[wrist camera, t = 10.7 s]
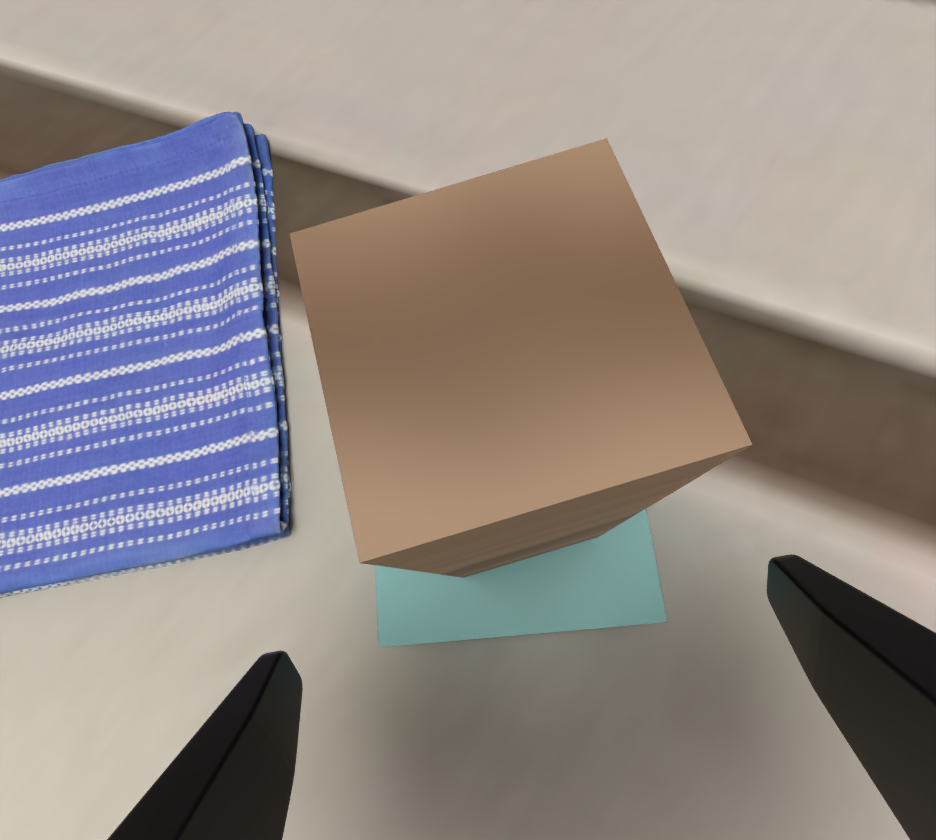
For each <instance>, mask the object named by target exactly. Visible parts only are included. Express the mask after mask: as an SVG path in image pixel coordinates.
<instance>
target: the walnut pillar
mask: <svg viewBox="0 0 936 840" xmlns="http://www.w3.org/2000/svg"><path fill="white" fill-rule="evenodd" d="M290 238H291V243H292V247H293V252H294V257H295V261H296V266H297V271H298V276H299V280H300V285H301V290H302V294H303V299H304V304H305V308H306V313H307V318H308V323H309V327H310V332H311V337H312V341H313V346H314V351H315V355H316V360H317V365H318V369H319V374H320V379H321V384H322V388H323V393H324V398H325V402H326V407H327V412H328V416H329V421H330V426H331V431H332V435H333V440H334V445H335V449H336V454H337V459H338V463H339V468H340V473H341V478H342V482H343V487H344V492H345V496H346V501H347V506H348V510H349V515H350V520H351V525H352V529H353V534H354V539H355V543H356V548H357V553H358V557H359V562H360V563H364V564H371V565H378V566H385V567H392V568H399V569H406V570H412V571H419V572H426V573H433V574H440V575H447V576H454V577H461V578H464V577H468V576H471V575H474V574H478V573H481V572H484V571H488V570H491V569H494V568H498V567H501V566H504V565H508V564H511V563H514V562H517V561H521V560H524V559H527V558H531V557H534V556H537V555H541V554H544V553H547V552H551V551H554V550H557V549H561V548H564V547H567V546H571V545H574V544H577V543H581V542H584V541H587V540H590V539H594V538H597V537H599V536H601V535H603V534H604V533H606V532H608V531H609V530H611V529H613V528H614V527H616V526H618V525H619V524H621V523H623V522H624V521H626V520H628V519H629V518H631V517H633V516H634V515H636V514H638V513H639V512H641V511H643V510H644V509H646V508H648V507H649V506H651V505H653V504H654V503H656V502H658V501H659V500H661V499H663V498H664V497H666V496H668V495H669V494H671V493H673V492H674V491H676V490H678V489H679V488H681V487H683V486H684V485H686V484H688V483H689V482H691V481H693V480H694V479H696V478H698V477H699V476H701V475H703V474H704V473H706V472H708V471H709V470H711V469H712V468H714V467H716V466H717V465H719V464H721V463H722V462H724V461H726V460H727V459H729V458H731V457H732V456H734V455H736V454H737V453H739V452H741V451H742V450H744V449H746V448H747V447H749V446H751V445H752V443H751V441H750V439H749V436H748V434H747V432H746V430H745V428H744V426H743V424H742V422H741V420H740V418H739V415H738V413H737V411H736V409H735V407H734V405H733V403H732V401H731V399H730V396H729V394H728V392H727V390H726V388H725V386H724V384H723V382H722V380H721V378H720V375H719V373H718V371H717V369H716V367H715V365H714V363H713V361H712V359H711V357H710V354H709V352H708V350H707V348H706V346H705V344H704V342H703V340H702V338H701V335H700V333H699V331H698V329H697V327H696V325H695V323H694V321H693V319H692V317H691V314H690V312H689V310H688V308H687V306H686V304H685V302H684V300H683V298H682V296H681V293H680V291H679V289H678V287H677V285H676V283H675V281H674V279H673V277H672V275H671V272H670V270H669V268H668V266H667V264H666V262H665V260H664V258H663V256H662V253H661V251H660V249H659V247H658V245H657V243H656V241H655V239H654V237H653V235H652V232H651V230H650V228H649V226H648V224H647V222H646V220H645V218H644V216H643V214H642V211H641V209H640V207H639V205H638V203H637V201H636V199H635V197H634V195H633V192H632V190H631V188H630V186H629V184H628V182H627V180H626V178H625V176H624V174H623V171H622V169H621V167H620V165H619V163H618V161H617V159H616V157H615V155H614V153H613V150H612V148H611V146H610V144H609V142H608V140H607V138H606V139H603V140H599V141H596V142H593V143H589V144H586V145H583V146H579V147H576V148H573V149H570V150H566V151H563V152H560V153H556V154H553V155H550V156H546V157H543V158H540V159H536V160H533V161H530V162H526V163H523V164H520V165H516V166H513V167H510V168H506V169H503V170H500V171H496V172H493V173H490V174H486V175H483V176H480V177H476V178H473V179H470V180H467V181H463V182H460V183H457V184H453V185H450V186H447V187H443V188H440V189H437V190H433V191H430V192H427V193H423V194H420V195H417V196H413V197H410V198H407V199H403V200H400V201H397V202H393V203H390V204H387V205H383V206H380V207H377V208H373V209H370V210H367V211H364V212H360V213H357V214H354V215H350V216H347V217H344V218H340V219H337V220H334V221H330V222H327V223H324V224H320V225H317V226H314V227H310V228H307V229H304V230H300V231H297V232H294V233H290Z"/></svg>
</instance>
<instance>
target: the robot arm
mask: <svg viewBox="0 0 936 840" xmlns="http://www.w3.org/2000/svg"><path fill="white" fill-rule="evenodd" d="M767 596H768V599H769V602H770V604H771V606H772V608H773V610H774V612H775V614H776V616H777V618H778V620H779V622H780V624H781V626H782V628H783V630H784V632H785V634H786V636H787V638H788V640H789V642H790V644H791V646H792V648H793V650H794V652H795V654H796V656H797V658H798V660H799V662H800V664H801V666H802V668H803V670H804V672H805V673H806V675H807V677H808V679H809V681H810V683H811V685H812V687H813V688H814V690H815V692H816V693H817V695H818V696H819V698H820V700H821V701H822V703H823V705H824V706H825V708H826V709H827V711H828V712H829V714H830V715H831V717H832V719H833V720H834V722H835V723H836V725H837V726H838V728H839V729H840V731H841V733H842V734H843V736H844V737H845V739H846V740H847V742H848V743H849V745H850V747H851V748H852V750H853V751H854V753H855V754H856V756H857V757H858V759H859V761H860V762H861V764H862V765H863V767H864V768H865V770H866V771H867V773H868V775H869V776H870V778H871V779H872V781H873V782H874V784H875V785H876V787H877V789H878V790H879V792H880V793H881V795H882V796H883V798H884V799H885V801H886V803H887V804H888V806H889V807H890V809H891V810H892V812H893V813H894V815H895V817H896V818H897V820H898V821H899V823H900V824H901V826H902V828H903V829H904V831H905V832H906V834H907V835H908V837H909V838H910V840H936V633H935V632H933V631H931V630H930V629H928V628H926V627H924V626H922V625H921V624H919V623H917V622H915V621H913V620H912V619H910V618H908V617H906V616H905V615H903V614H901V613H899V612H897V611H896V610H894V609H892V608H890V607H888V606H887V605H885V604H883V603H881V602H880V601H878V600H876V599H874V598H872V597H871V596H869V595H867V594H865V593H863V592H862V591H860V590H858V589H856V588H855V587H853V586H851V585H849V584H847V583H846V582H844V581H842V580H840V579H838V578H837V577H835V576H833V575H831V574H829V573H828V572H826V571H824V570H822V569H821V568H819V567H817V566H815V565H813V564H812V563H810V562H808V561H806V560H804V559H803V558H801V557H799V556H796V555H785V556H780V557H774V558H772V559H771V560H770V561H769V564H768V578H767ZM301 700H302V680H301V677H300V675H299V673H298V671H297V670H296V668H295V666H294V664H293V663H292V661H291V659H290V658H289V656H288V654H287V653H286V652H284V651H276V652H270V653H266V654H263V655H262V656H260V657H259V658H258V660H257V661H256V662H255V663H254V664H253V666H252V667H251V668H250V669H249V670H248V672H247V673H246V674H245V675H244V676H243V678H242V679H241V680H240V681H239V682H238V684H237V685H236V686H235V687H234V688H233V690H232V691H231V692H230V693H229V694H228V696H227V697H226V698H225V699H224V700H223V701H222V703H221V704H220V705H219V706H218V707H217V709H216V710H215V711H214V712H213V713H212V715H211V716H210V717H209V718H208V719H207V721H206V722H205V723H204V724H203V725H202V727H201V728H200V729H199V730H198V731H197V733H196V734H195V735H194V736H193V737H192V739H191V740H190V741H189V742H188V743H187V745H186V746H185V747H184V748H183V749H182V751H181V752H180V753H179V754H178V755H177V757H176V758H175V759H174V760H173V761H172V763H171V764H170V765H169V766H168V767H167V769H166V770H165V771H164V772H163V773H162V775H161V776H160V777H159V778H158V779H157V781H156V782H155V783H154V784H153V785H152V787H151V788H150V789H149V790H148V791H147V793H146V794H145V795H144V796H143V797H142V799H141V800H140V801H139V802H138V803H137V805H136V806H135V807H134V808H133V809H132V811H131V812H130V813H129V814H128V815H127V817H126V818H125V819H124V820H123V821H122V823H121V824H120V825H119V826H118V827H117V829H116V830H115V831H114V832H113V833H112V834H111V836H110V837H109V838H108V839H107V840H282V837H283V832H284V827H285V822H286V817H287V812H288V806H289V801H290V796H291V791H292V785H293V779H294V772H295V764H296V754H297V743H298V733H299V722H300V711H301Z"/></svg>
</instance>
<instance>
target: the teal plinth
mask: <svg viewBox="0 0 936 840" xmlns="http://www.w3.org/2000/svg"><path fill="white" fill-rule="evenodd" d="M375 573H376V595H377V617H378V639H379V648H381V647H392V646H403V645H415V644H426V643H437V642H449V641H460V640H471V639H483V638H494V637H505V636H517V635H528V634H540V633H551V632H562V631H574V630H585V629H596V628H608V627H619V626H630V625H642V624H653V623H664V622H667V618H666V612H665V607H664V602H663V596H662V591H661V586H660V580H659V575H658V570H657V565H656V559H655V554H654V549H653V543H652V538H651V533H650V528H649V522H648V517H647V512H646V509H644V510H643V511H641V512H639V513H638V514H636V515H634V516H633V517H631V518H629V519H628V520H626V521H624V522H623V523H621V524H619V525H618V526H616V527H614V528H613V529H611V530H609V531H608V532H606V533H604V534H603V535H601V536H599V537H597V538H594V539H590V540H587V541H584V542H581V543H577V544H574V545H571V546H567V547H564V548H561V549H557V550H554V551H551V552H547V553H544V554H541V555H537V556H534V557H531V558H527V559H524V560H521V561H517V562H514V563H511V564H508V565H504V566H501V567H498V568H494V569H491V570H488V571H484V572H481V573H478V574H474V575H471V576H468V577H464V578H461V577H454V576H447V575H440V574H433V573H426V572H419V571H412V570H406V569H399V568H392V567H385V566H378V565H375Z"/></svg>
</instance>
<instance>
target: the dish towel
mask: <svg viewBox="0 0 936 840" xmlns="http://www.w3.org/2000/svg"><path fill="white" fill-rule="evenodd" d="M275 218H276V216H275V205H274V202H273V171H272V164H271V161H270V154H269V145H268V141H267V137H266V135H264V134H260V135H255V134H254V129H253V127H252V125H250V124H244V123H243V119H242V116H241V114H240V113H238V112H233V113H232V112H223V113H220V114H216V115H214V116H211V117H207V118H205V119H202V120H200V121H198V122H196V123H194V124H192V125H190V126H188V127H186V128H183V129H181V130H179V131H176V132H173V133H170V134H167V135H164V136H160V137H158V138H155V139H151V140H147V141H143V142H140V143H136V144H131V145H126V146H121V147H117V148H113V149H109V150H105V151H102V152H98V153H94V154H90V155H86V156H83V157H80V158H77V159H72V160H68V161H64V162H59V163H54V164H50V165H46V166H44V167H41V168H38V169H36V170H33V171H30V172H27V173H23V174H18V175H13V176H10V177H8V178H5V179H2V180H0V597H4V596H9V595H14V594H19V593H26V592H33V591H37V590H45V589H52V588H55V587H62V586H65V585H73V584H75V583H82V582H87V581H92V580H98V579H101V578H106V577H111V576H118V575H122V574H127V573H131V572H137V571H142V570H149V569H155V568H159V567H166V566H169V565H173V564H177V563H183V562H187V561H192V560H196V559H201V558H205V557H211V556H214V555H220V554H224V553H229V552H233V551H240V550H243V549H247V548H250V547H253V546H257V545H261V544H265V543H268V542H271V541H275V540H278V539H281V538H284V537H289V536H290V535H291V530H290V529H289V526H288V522H289V509H290V497H291V490H292V487H291V482H290V473H289V458H288V431H287V427H288V426H287V422H286V413H285V384H284V377H283V369H282V360H281V351H282V335H281V330H280V318H279V310H278V305H279V289H278V282H277V269H276V246H275Z"/></svg>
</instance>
